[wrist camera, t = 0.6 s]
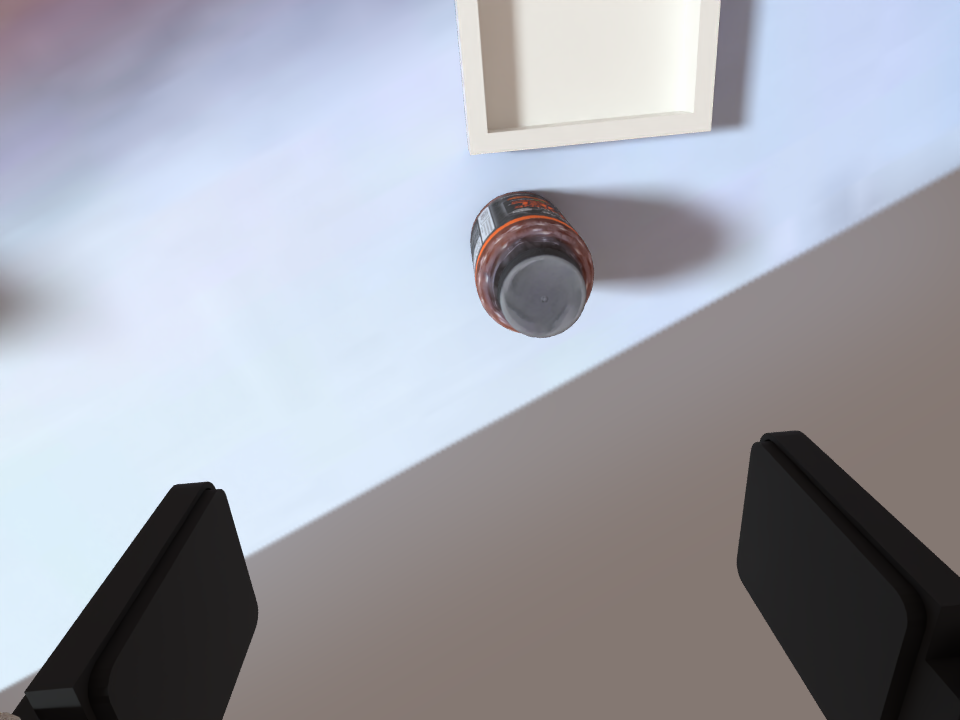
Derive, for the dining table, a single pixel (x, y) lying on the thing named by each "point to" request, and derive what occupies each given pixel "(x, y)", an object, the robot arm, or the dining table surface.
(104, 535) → the dining table surface
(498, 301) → the supplement bottle
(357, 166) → the dining table surface
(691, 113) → the tray
